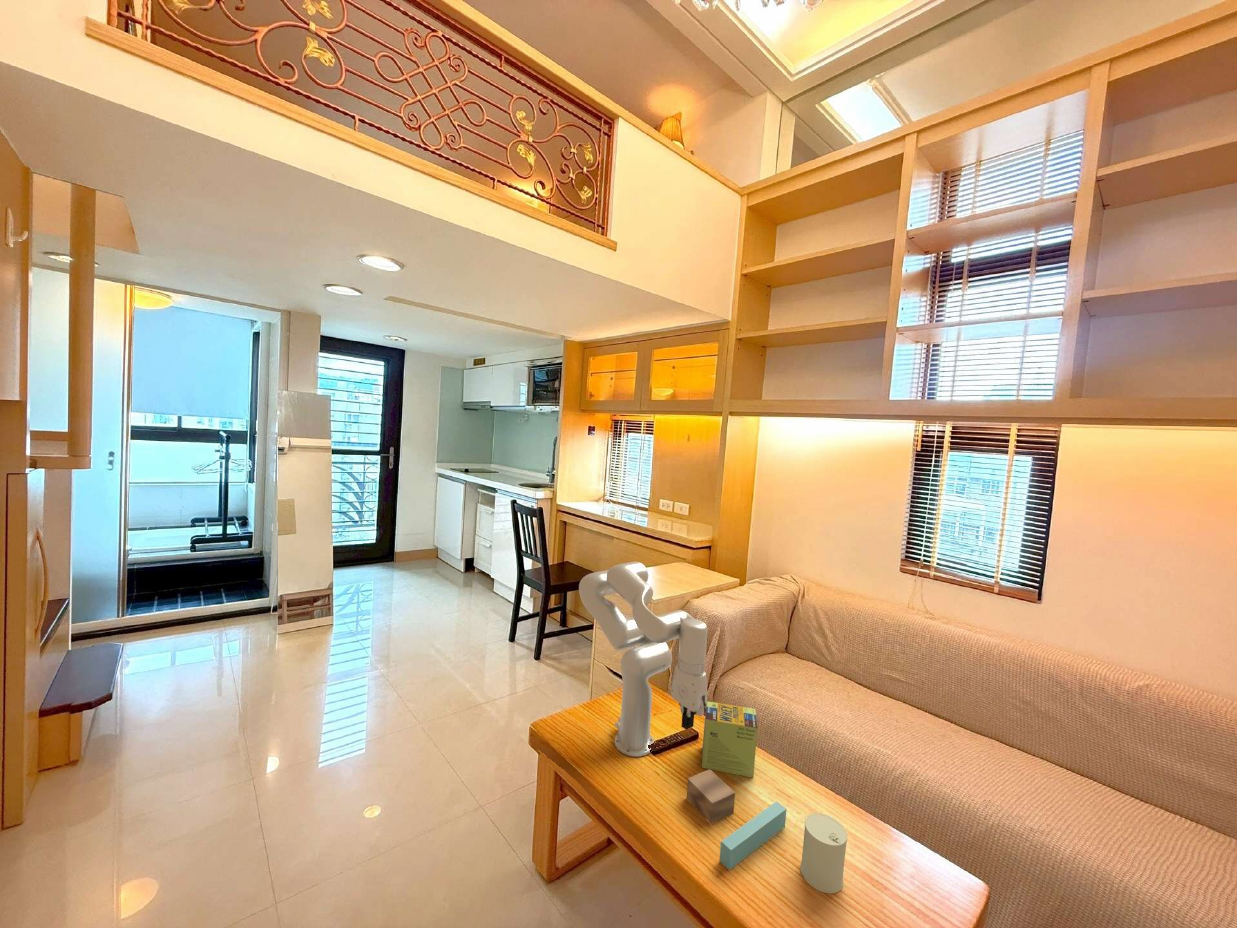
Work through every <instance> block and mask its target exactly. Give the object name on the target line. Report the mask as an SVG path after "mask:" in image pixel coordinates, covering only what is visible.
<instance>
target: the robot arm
mask: <svg viewBox="0 0 1237 928" xmlns="http://www.w3.org/2000/svg"><path fill="white" fill-rule="evenodd" d="M648 580H649V573H648V569H647V567H646V566H645V565H644V564H643V563H642V562H639V561H630V562H629V561H628V562H625V563H618V564H616V565H613V566H611V567H610V568H609V569H605V570H599V571H595V572H591V573H588V574H586V575H585V576H583V577H582V578H581V580H580V581H579V584H578V593H579V597H580V601H581V603H582V605H583V606H584V607H585V609H586V611H587V612H588V613H589V614H590V615H591V616H592V618H593V619H595V621H596V622H597V624H598V626H599V627H600V629H601V631H602V632H603V634H604V635H605V637H606V638H607V640H608V642H609V643H610V645H611V647H613V649H615V651H626V650H627V651H626V652H624V653H623V654H622V656H621V657H620V658H621V659H620V670H621V677H622V691H621V709H620V714H621V715H620V717H618V719H617V721H616V722H615V723H614V726H615V727H616V728H617V729H618V731H617V733H616V735H615V737H614V745H615V748H616V750H617V751H619V752H620V753H622V754H624V755H626V756H629V757H633V758H635V757H636V758H638V757H639V758H640V757H644V756H646V755H649V754H650V753H651V752H650V750H651V748H650V749H649V748H648V745H651V744H652V743H654V744H655V740H654V738H653V736H652V734H651V721H652V719H651V718H652V705H653V688H652V686H651V684H650V683H649V678H651V677H653V676H655V675H657V674H659V673H662V672H664V671H667V670H668V669H669V668H670V666H671V665H672V663H673V654H672V651H671V649H670V647H669V645H668V643H669V642H670V641H674V640H677V639H678V640H679V643H678V646H679V647H678V653H677V655H676V658H677V660H678V663H677V664H676V665H675V668H674V671H673V675H672V681H671V688H670V689H671V691H670V695H671V698H672V699H673V700H674V701H675V702H677V703H678V704H679V707H680V712H681V728H683V729H684V730H685V731H687V730H689V729H691V728H694V721H695V715H697V716H699V717H702V716H705V709H706V704H707V701H708V679H707V673H706V659H707V645H708V642H707V641H708V630H709V629H708V626H707V624H706V623H705V622H704V621H702V620H699V619H697V618H695V617H693V616H692V615H691V614H689V613H688V612H687V611H685V610H682V609H676V610H673V611H669V612H665V613H662V614H658V615H656V614H654V613H653V612H652V611H651V610H649V608H648V607H647V606H649V604H650V603H651V601H652V599H653V596H654V589H653V588H652V586H651V585H649V584H648V583H647V582H648ZM614 594H618V595H619V596H620V597H621V598H622V599H623V600H624V601H625V602H627V604H629V605H630V606H631V608H632V609H631V610H632V611H631V612H632V616H628V617H627V616H625V615H624V614H623V613H622V612H621V610H620V608H619V607H618V606H617V604H615V603H614V602H612V601H611V600H610V599H607V598H606V596H610V595H614Z"/></svg>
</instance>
